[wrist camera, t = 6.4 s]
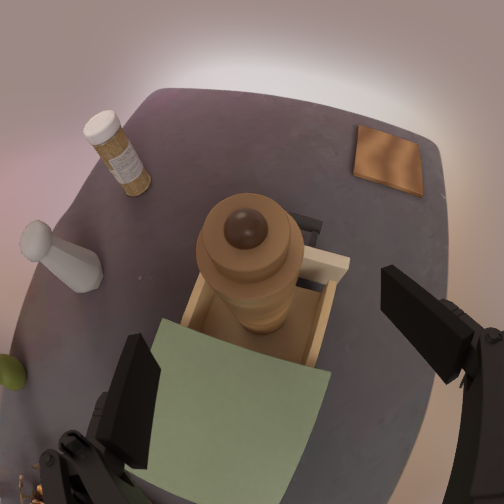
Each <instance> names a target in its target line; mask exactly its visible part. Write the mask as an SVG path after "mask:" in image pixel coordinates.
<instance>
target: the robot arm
mask: <svg viewBox="0 0 504 504" xmlns="http://www.w3.org/2000/svg"><path fill="white" fill-rule="evenodd" d="M381 311H382V312H383V313H384V314H385V315H386V316H387V317H388V318H389V319H390V320H391V321H392V323H393V324H394V325H395V326H396V327H397V328H398V329H399V330H400V331H401V333H402V334H403V335H404V336H405V337H406V338H407V339H408V340H409V342H410V343H411V344H412V345H413V346H414V347H415V348H416V350H417V351H418V352H419V353H420V354H421V355H422V356H423V358H424V359H425V360H426V361H427V362H428V363H429V365H430V366H431V367H432V368H433V369H434V371H435V372H436V373H437V374H438V375H439V377H440V378H441V379H442V380H443V381H444V383H445V384H446V385H447V384H449V383H450V382H452V381H453V380H455V379H456V378H457V377H458V376H459V374H460V371H461V369H463V370H464V371H465V372H466V373H465V375H464V377H463V379H462V382H461V384H460V388H462V385H463V383H464V391H463V404H462V414H461V423H460V430H459V437H458V443H457V448H456V453H455V458H454V463H453V467H452V471H451V475H450V479H449V483H448V486H447V490H446V493H445V496H444V499H443V502H442V504H504V331H500V330H498V329H496V328H491V327H490V328H486V329H484V328H483V327H482V326H480V325H479V324H478V323H477V322H475V321H474V320H473V319H472V318H471V317H470V316H469V315H467V314H466V313H464V311H462V310H461V309H459V307H457V306H456V305H455V304H454V303H453V302H450V301H448V300H446V299H441V300H437V299H436V298H435V297H434V296H432V295H431V294H430V293H429V292H427V291H426V290H425V289H424V288H422V287H421V286H420V285H419V284H417V283H416V282H415V281H413V280H412V279H411V278H410V277H408V276H407V275H406V274H404V273H403V272H402V271H400V270H399V269H398V268H396V267H395V266H394V265H389V266H387V267H384V268H381ZM160 374H161V368H160V366H159V365H158V363H157V361H156V360H155V358H154V356H153V354H152V353H151V351H150V349H149V347H148V346H147V344H146V342H145V340H144V339H143V337H142V335H141V333H139V334H134V335H128V338H127V341H126V343H125V346H124V349H123V351H122V354H121V357H120V359H119V362H118V365H117V368H116V371H115V374H114V376H113V379H112V382H111V385H110V388H109V391H108V392H103V393H102V394H101V396H100V397H99V398H98V400H97V402H96V405H95V408H94V409H95V410H94V411H93V415H92V416H93V417H92V418H91V421H90V424H89V427H88V431H87V434H86V437H84V436H83V435H82V434H81V433H79V432H78V431H76V430H70V431H67V432H65V433H64V434H63V435H62V436H61V438H60V440H59V444H58V445H59V449H60V450H61V451H62V452H63V453H64V454H61V455H60V454H59V453H58V452H57V451H55V450H53V449H48V450H46V451H44V452H43V453H42V454H41V457H40V461H39V465H40V477H41V485H42V493H43V499H44V504H152V503H151V502H150V501H149V500H148V499H147V497H146V496H145V495H144V494H143V492H142V491H141V490H140V489H139V487H138V486H137V485H136V483H135V482H134V481H133V479H132V478H131V476H130V475H129V474H128V472H126V471H125V470H124V468H125V464H126V465H128V466H129V467H130V468H132V469H143V470H147V467H148V457H149V448H150V440H151V432H152V425H153V418H154V411H155V404H156V398H157V392H158V386H159V380H160Z"/></svg>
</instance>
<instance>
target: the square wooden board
mask: <svg viewBox="0 0 504 504" xmlns="http://www.w3.org/2000/svg"><path fill="white" fill-rule="evenodd" d="M353 176H357V177H360V178H363V179H367V180H370V181H373V182H376V183H380V184H383V185H386V186H389V187H392V188H395V189H398V190H401V191H404V192H406V193H409V194H412V195H415V196H418V197H420V198H422V196H423V181H422V168H421V158H420V149H419V145H418V144H415V143H412V142H410V141H407V140H404V139H401V138H399V137H396V136H393V135H390V134H387V133H384V132H381V131H378V130H374V129H371V128H368V127H365V126H361V125H359V127H358V134H357V144H356V153H355V161H354V169H353Z"/></svg>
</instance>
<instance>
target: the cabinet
mask: <svg viewBox="0 0 504 504" xmlns="http://www.w3.org/2000/svg"><path fill="white" fill-rule="evenodd" d="M150 351H151V353H152V354H153V356H154V358H155V360H156V361H157V363H158V365H159V366H160V368H161V374H160V380H159V386H158V392H157V398H156V404H155V411H154V418H153V425H152V432H151V440H150V448H149V457H148V467H147V470H143V469H132V468H130V467H129V466H128V465H126V464H125V468H124V469H126V470H127V471H129V472H131V473H133V474H134V475H136V476H138V477H140V478H142V479H144V480H145V481H147V482H149V483H151V484H153V485H155V486H157V487H159V488H162V489H164V490H166V491H168V492H170V493H173V494H175V495H177V496H179V497H182V498H184V499H187V500H189V501H192V502H194V503H197V504H279V503H280V501H281V499H282V497H283V495H284V493H285V491H286V489H287V487H288V485H289V483H290V480H291V478H292V476H293V474H294V472H295V470H296V467H297V465H298V463H299V461H300V458H301V456H302V454H303V451H304V449H305V446H306V444H307V441H308V439H309V436H310V434H311V431H312V429H313V426H314V423H315V421H316V418H317V415H318V412H319V409H320V407H321V404H322V401H323V398H324V395H325V392H326V389H327V386H328V383H329V379H330V376H331V372H330V371H325V370H321V369H317V368H313V367H309V366H305V365H301V364H298V363H294V362H290V361H287V360H283V359H280V358H276V357H273V356H269V355H266V354H263V353H259V352H256V351H253V350H250V349H247V348H244V347H241V346H238V345H235V344H232V343H229V342H226V341H223V340H220V339H217V338H214V337H211V336H209V335H206V334H203V333H200V332H198V331H195V330H192V329H190V328H187V327H185V326H182V325H180V324H177V323H174V322H172V321H170V320H167V319H165V318H162V320H161V323H160V326H159V328H158V331H157V334H156V336H155V339H154V342H153V345H152V348H151V350H150Z"/></svg>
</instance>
